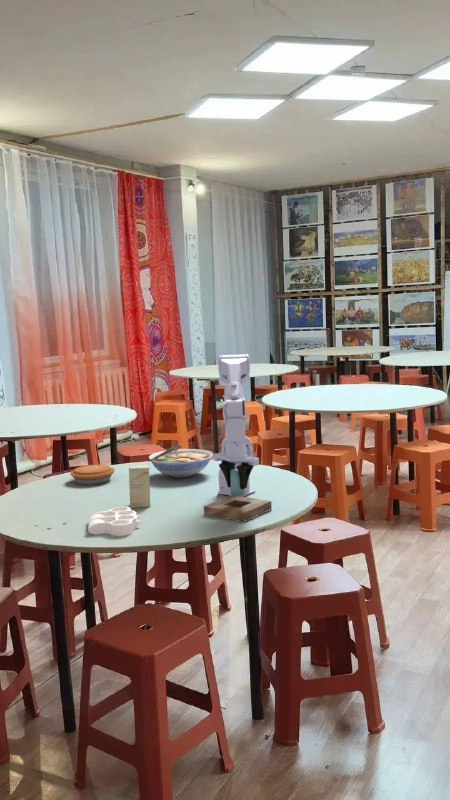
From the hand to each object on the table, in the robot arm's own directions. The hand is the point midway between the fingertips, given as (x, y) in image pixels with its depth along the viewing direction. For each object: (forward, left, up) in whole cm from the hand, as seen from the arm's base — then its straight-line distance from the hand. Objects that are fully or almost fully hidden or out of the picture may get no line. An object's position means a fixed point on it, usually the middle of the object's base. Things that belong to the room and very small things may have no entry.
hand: (237, 487), depth 207 cm
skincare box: (-30, -9, -8) cm, 32 cm away
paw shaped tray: (-22, -28, -8) cm, 36 cm away
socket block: (0, 0, -7) cm, 7 cm away
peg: (0, 0, -2) cm, 2 cm away
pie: (-67, +6, -8) cm, 68 cm away
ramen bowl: (-44, +27, -8) cm, 52 cm away
